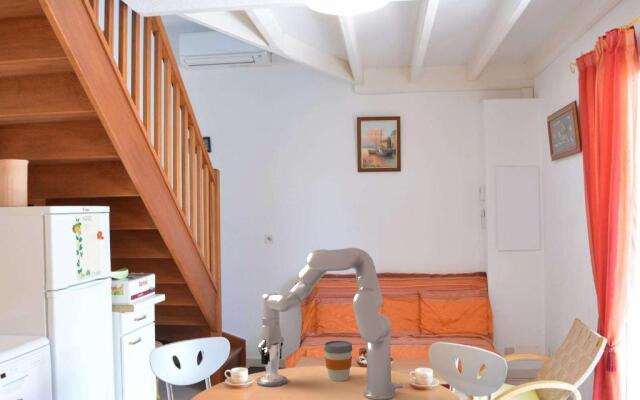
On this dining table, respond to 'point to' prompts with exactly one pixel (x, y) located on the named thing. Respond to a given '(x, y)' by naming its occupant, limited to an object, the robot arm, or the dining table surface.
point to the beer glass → (273, 363)
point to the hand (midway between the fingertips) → (271, 361)
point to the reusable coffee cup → (338, 359)
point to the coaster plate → (266, 383)
